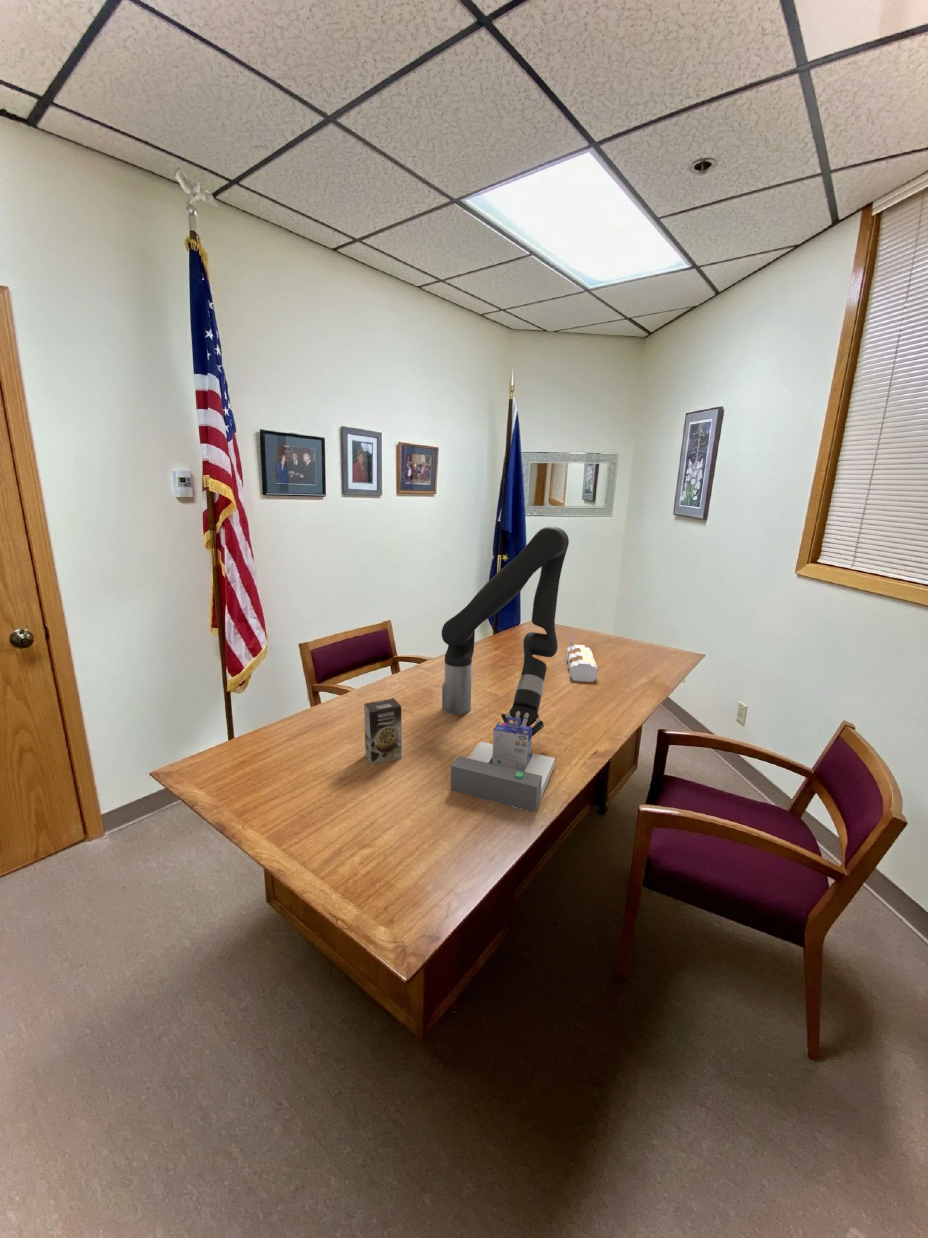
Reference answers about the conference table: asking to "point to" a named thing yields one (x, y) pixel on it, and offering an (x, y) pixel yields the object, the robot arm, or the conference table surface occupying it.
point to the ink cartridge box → (512, 745)
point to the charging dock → (501, 778)
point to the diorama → (582, 664)
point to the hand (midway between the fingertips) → (515, 750)
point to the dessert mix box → (383, 731)
